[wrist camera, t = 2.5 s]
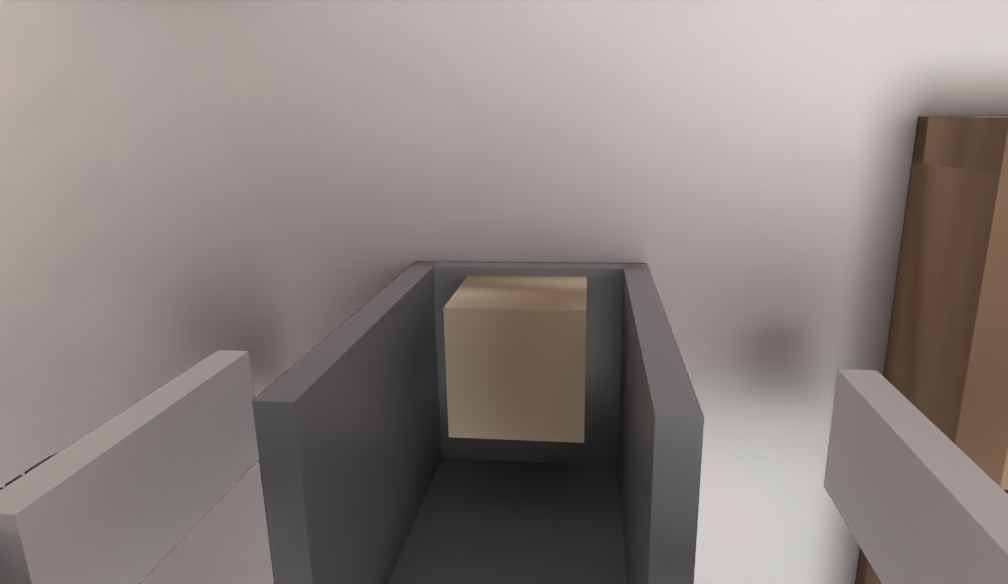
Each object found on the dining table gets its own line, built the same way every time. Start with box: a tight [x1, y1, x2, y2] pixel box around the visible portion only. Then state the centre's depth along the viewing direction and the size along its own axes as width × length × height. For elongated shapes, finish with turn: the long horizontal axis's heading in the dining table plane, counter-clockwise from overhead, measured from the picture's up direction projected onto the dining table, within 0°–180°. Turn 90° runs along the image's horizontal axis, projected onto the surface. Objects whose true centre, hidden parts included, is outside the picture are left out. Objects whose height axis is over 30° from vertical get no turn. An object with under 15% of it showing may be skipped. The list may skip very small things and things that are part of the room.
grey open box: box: [252, 261, 704, 584], centre depth 14 cm, size 6×6×9 cm
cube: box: [443, 275, 587, 443], centre depth 16 cm, size 3×3×3 cm
